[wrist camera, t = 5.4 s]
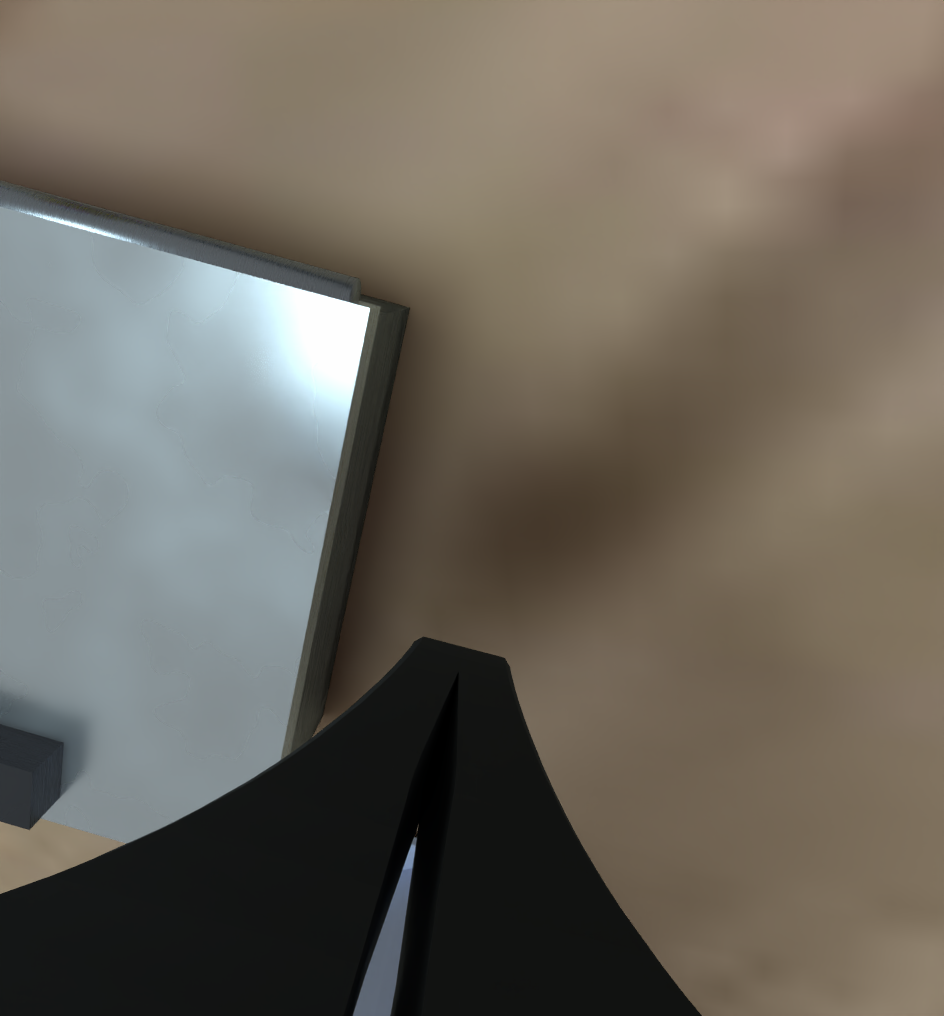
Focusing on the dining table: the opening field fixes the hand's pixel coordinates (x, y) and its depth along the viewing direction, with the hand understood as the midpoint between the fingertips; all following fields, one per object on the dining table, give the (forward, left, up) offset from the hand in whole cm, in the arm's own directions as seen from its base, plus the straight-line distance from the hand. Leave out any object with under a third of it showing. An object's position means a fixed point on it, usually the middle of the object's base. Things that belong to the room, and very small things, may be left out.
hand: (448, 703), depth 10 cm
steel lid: (-2, +10, -4) cm, 11 cm away
